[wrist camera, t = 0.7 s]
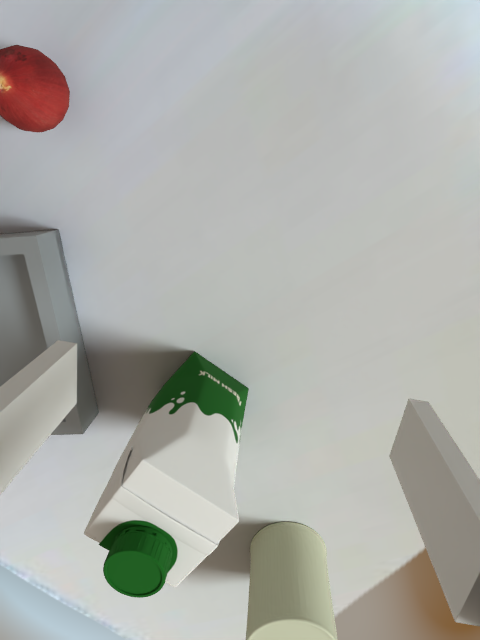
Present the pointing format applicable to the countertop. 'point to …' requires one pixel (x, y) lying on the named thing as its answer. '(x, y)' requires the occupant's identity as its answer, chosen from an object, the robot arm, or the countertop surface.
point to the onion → (31, 89)
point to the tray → (41, 315)
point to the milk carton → (173, 482)
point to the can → (289, 585)
